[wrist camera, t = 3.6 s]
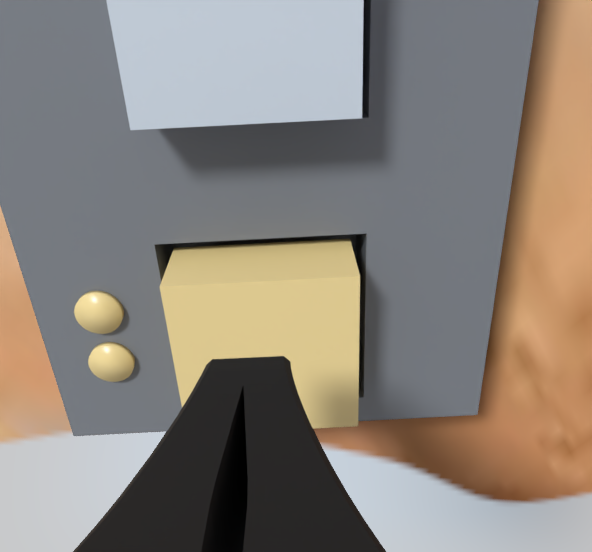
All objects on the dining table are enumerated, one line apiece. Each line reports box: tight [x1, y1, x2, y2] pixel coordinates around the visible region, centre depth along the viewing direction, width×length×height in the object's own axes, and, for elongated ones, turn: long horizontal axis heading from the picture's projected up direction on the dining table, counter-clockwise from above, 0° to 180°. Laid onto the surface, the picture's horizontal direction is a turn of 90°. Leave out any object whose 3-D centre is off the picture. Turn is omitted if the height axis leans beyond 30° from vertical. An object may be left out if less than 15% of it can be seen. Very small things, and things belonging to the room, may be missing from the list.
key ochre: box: [160, 239, 360, 428], centre depth 14 cm, size 4×4×2 cm
